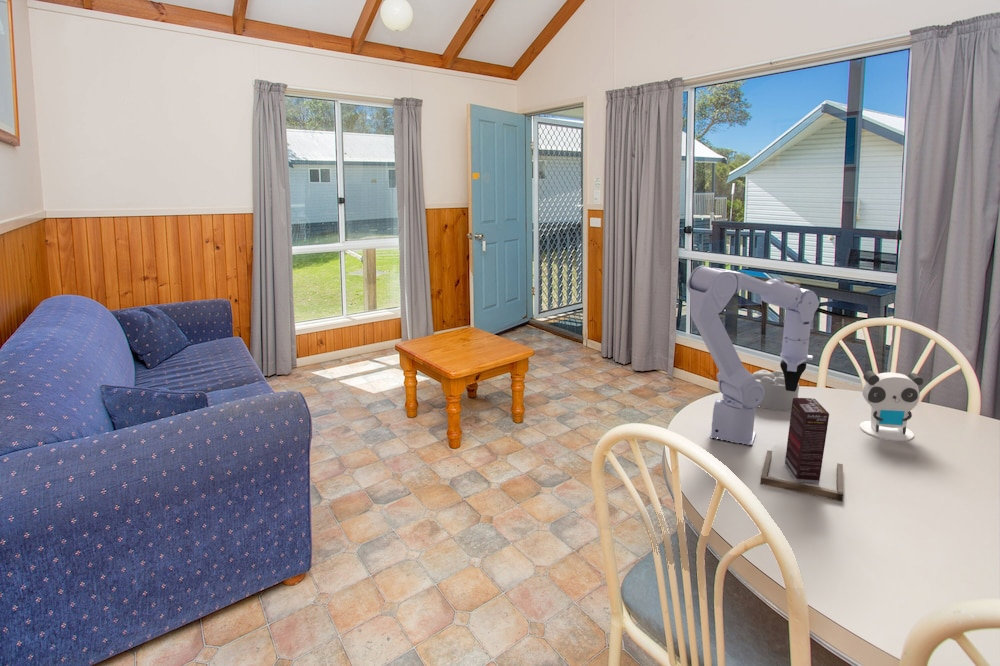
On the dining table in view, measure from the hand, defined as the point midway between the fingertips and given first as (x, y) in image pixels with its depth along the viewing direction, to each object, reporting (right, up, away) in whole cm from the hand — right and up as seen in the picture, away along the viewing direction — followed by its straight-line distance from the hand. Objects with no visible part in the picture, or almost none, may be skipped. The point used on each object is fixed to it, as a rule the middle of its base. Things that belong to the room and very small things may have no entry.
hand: (790, 390), depth 147 cm
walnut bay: (-7, -16, -20) cm, 27 cm away
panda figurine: (+24, -10, +1) cm, 26 cm away
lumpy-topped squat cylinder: (+4, -6, +20) cm, 21 cm away
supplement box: (-7, -16, -19) cm, 26 cm away
